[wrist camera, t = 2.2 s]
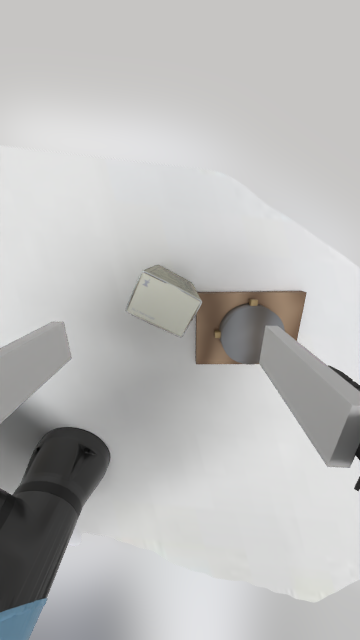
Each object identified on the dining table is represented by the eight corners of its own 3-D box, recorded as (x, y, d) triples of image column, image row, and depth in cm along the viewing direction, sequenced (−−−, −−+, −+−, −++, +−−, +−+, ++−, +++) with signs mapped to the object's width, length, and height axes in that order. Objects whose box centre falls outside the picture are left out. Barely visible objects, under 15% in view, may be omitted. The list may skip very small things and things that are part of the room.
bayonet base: (195, 360, 33) (197, 372, 29) (196, 292, 29) (198, 297, 25) (288, 359, 32) (300, 372, 29) (301, 290, 29) (318, 295, 25)
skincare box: (145, 289, 29) (121, 311, 17) (158, 262, 28) (140, 267, 16) (181, 307, 30) (180, 340, 18) (195, 283, 28) (203, 301, 17)
